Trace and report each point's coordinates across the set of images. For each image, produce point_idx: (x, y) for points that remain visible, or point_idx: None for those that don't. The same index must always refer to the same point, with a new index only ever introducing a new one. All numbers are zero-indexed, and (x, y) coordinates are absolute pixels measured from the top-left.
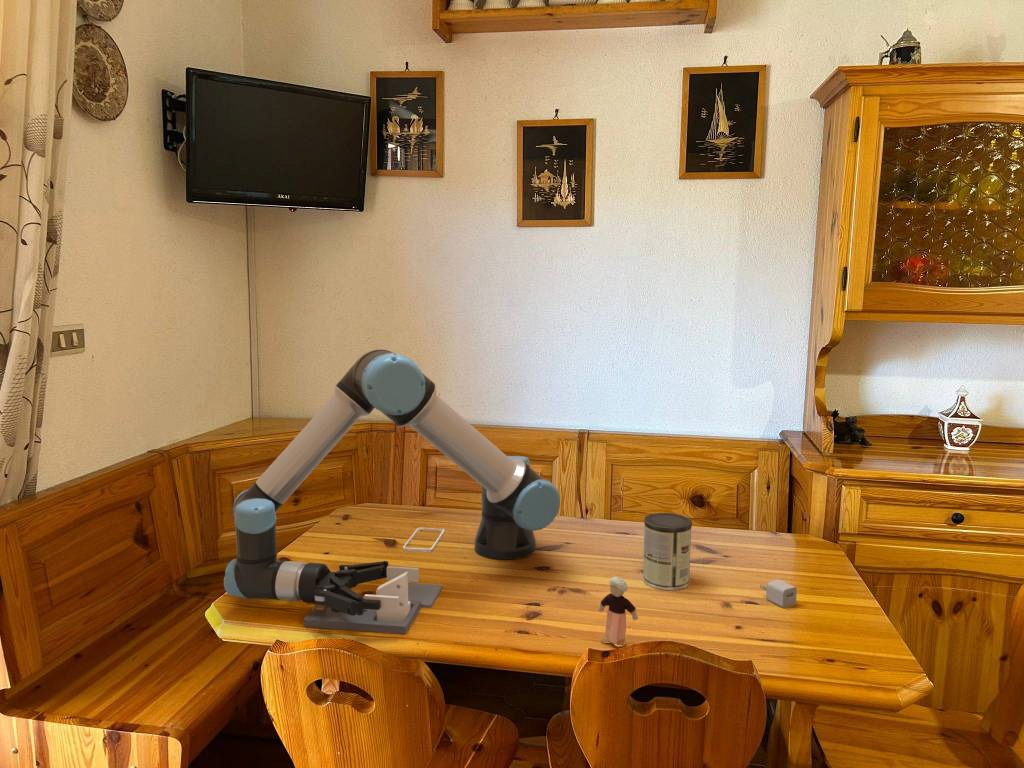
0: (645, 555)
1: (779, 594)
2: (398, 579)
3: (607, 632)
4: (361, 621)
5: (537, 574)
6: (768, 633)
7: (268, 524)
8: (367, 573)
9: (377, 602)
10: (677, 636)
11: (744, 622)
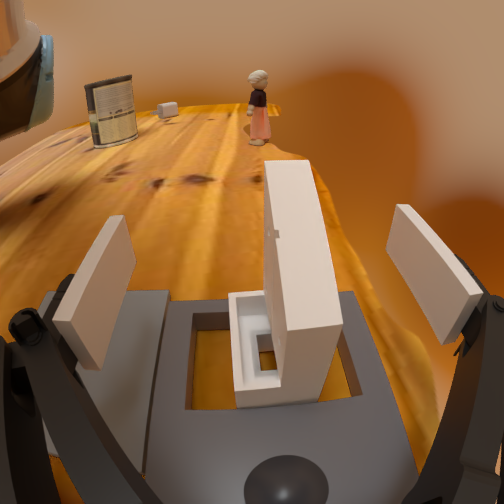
0: (111, 116)
1: (174, 107)
2: (316, 194)
3: (258, 133)
4: (388, 425)
5: (55, 198)
6: (218, 115)
7: None
8: (107, 444)
9: (458, 257)
10: (233, 128)
11: (202, 119)
